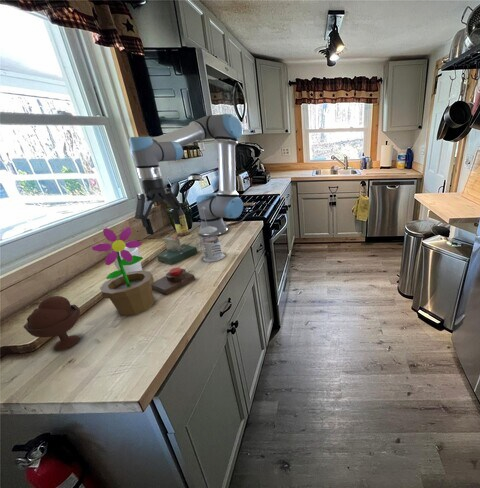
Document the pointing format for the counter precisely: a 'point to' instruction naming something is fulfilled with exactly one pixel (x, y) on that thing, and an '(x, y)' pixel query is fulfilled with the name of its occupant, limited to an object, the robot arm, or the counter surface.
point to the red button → (175, 271)
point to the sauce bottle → (181, 228)
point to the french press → (216, 247)
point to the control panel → (177, 254)
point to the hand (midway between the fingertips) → (164, 228)
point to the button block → (172, 282)
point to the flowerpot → (125, 276)
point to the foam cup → (132, 267)
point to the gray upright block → (173, 244)
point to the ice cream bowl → (54, 321)
